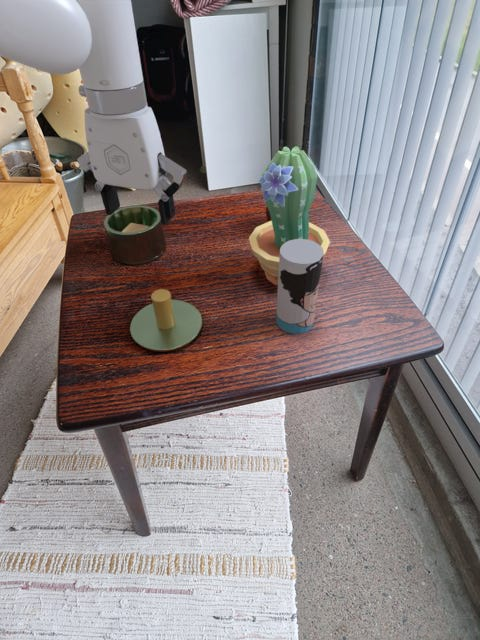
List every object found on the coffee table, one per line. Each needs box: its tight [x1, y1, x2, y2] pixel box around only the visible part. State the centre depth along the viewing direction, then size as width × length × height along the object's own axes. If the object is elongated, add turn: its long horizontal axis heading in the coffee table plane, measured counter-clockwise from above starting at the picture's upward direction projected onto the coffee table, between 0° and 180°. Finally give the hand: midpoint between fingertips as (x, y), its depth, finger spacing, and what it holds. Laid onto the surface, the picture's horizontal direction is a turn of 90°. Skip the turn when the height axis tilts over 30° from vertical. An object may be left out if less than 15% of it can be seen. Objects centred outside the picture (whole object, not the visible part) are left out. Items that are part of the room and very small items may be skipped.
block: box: [122, 223, 149, 233], centre depth 91 cm, size 4×4×4 cm
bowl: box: [103, 204, 167, 266], centre depth 90 cm, size 12×12×8 cm
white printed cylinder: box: [275, 239, 324, 335], centre depth 70 cm, size 7×7×15 cm
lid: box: [129, 288, 203, 353], centre depth 72 cm, size 13×13×8 cm
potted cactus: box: [248, 145, 331, 286], centre depth 77 cm, size 15×15×25 cm
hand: (140, 215), depth 66 cm, fingers open, 9 cm apart
